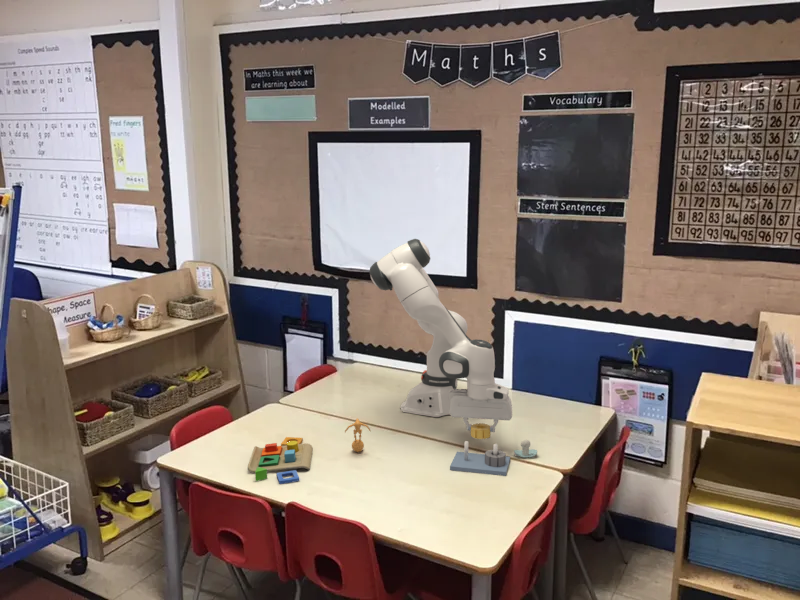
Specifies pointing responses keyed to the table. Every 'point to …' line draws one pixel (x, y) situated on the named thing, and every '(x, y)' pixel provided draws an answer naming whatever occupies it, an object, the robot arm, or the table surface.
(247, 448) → the table surface
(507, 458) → the gear board
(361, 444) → the figurine
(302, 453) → the shape sorter
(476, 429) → the ochre gear
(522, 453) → the pacifier
